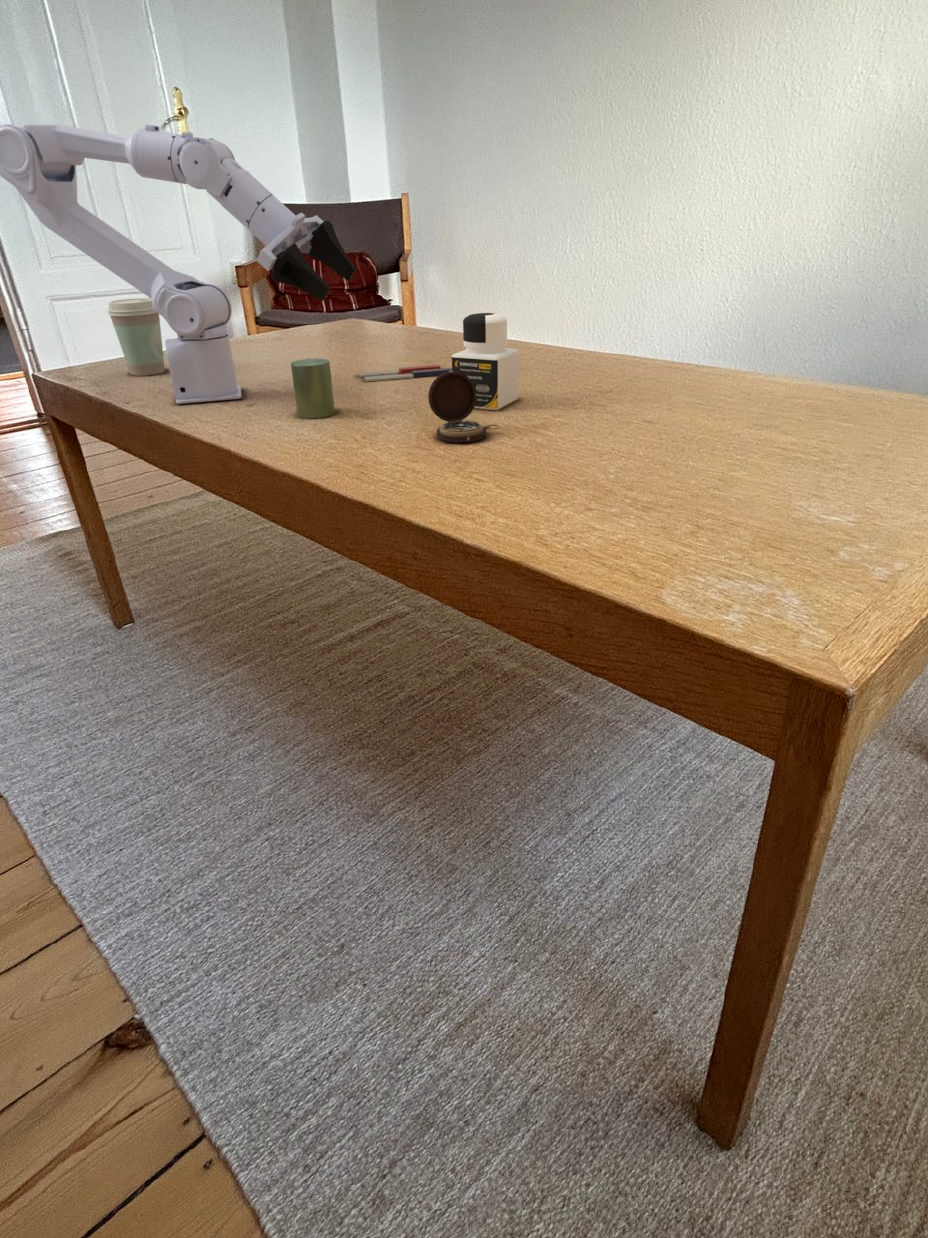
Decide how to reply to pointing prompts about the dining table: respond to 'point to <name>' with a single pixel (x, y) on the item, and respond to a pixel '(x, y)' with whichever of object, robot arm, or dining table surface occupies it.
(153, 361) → the coffee cup
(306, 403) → the can
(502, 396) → the medicine bottle
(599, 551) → the dining table surface
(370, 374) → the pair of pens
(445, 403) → the compass
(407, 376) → the knife
